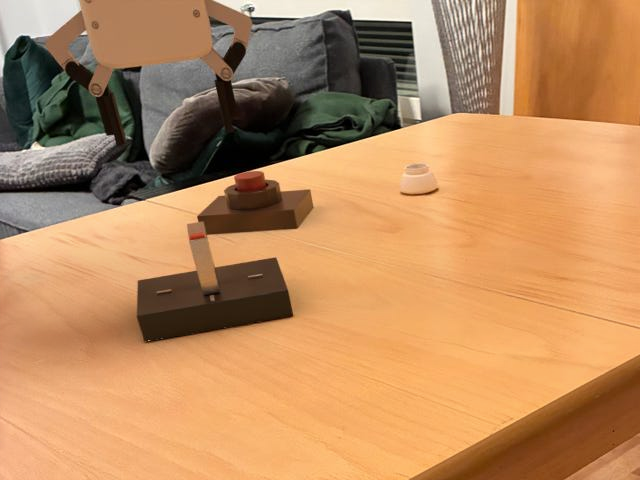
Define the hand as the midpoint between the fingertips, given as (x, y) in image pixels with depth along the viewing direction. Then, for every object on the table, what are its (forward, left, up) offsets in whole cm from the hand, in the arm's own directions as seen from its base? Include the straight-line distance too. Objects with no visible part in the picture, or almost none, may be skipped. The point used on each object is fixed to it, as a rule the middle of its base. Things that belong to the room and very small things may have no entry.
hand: (175, 136), depth 88 cm
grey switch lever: (+1, -2, -13) cm, 13 cm away
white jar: (+16, +38, -15) cm, 44 cm away
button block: (-3, +29, -15) cm, 33 cm away
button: (-3, +29, -12) cm, 31 cm away
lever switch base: (+1, -2, -15) cm, 15 cm away
